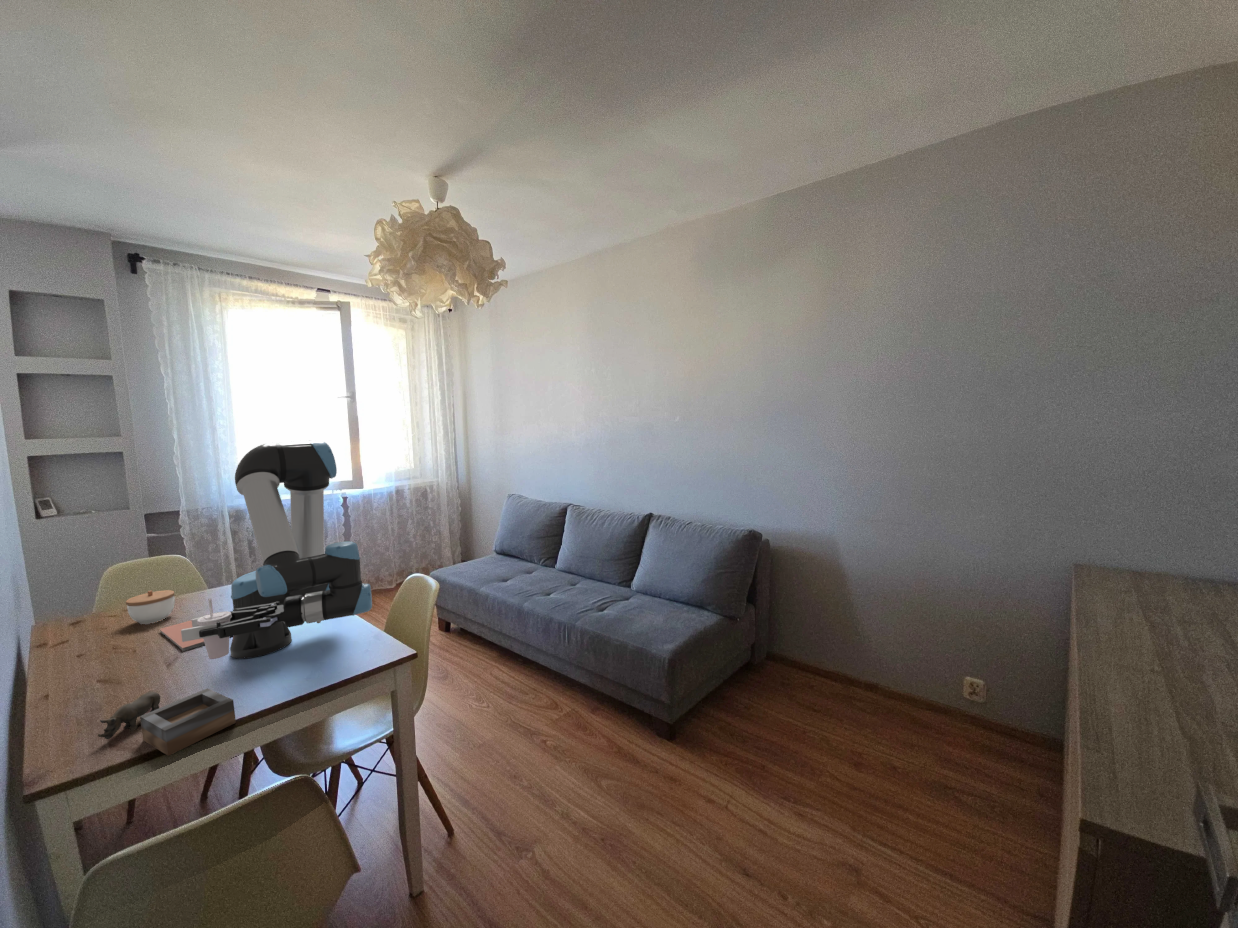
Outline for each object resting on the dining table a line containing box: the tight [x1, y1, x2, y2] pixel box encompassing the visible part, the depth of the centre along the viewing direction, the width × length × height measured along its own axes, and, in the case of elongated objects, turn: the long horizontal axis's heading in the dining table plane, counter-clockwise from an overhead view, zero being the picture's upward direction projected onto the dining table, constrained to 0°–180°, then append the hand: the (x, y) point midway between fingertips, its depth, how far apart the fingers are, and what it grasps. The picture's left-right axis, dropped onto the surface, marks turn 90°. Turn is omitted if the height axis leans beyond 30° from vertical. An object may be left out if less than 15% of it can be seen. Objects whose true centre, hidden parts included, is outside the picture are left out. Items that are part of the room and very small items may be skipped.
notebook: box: [159, 619, 205, 652], centre depth 162 cm, size 27×17×2 cm, turn 55°
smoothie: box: [197, 598, 232, 660], centre depth 115 cm, size 6×6×14 cm
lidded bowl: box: [125, 589, 176, 625], centre depth 174 cm, size 13×13×11 cm
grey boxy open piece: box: [139, 687, 237, 757], centre depth 107 cm, size 12×12×6 cm
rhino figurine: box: [97, 690, 161, 740], centre depth 109 cm, size 4×14×6 cm, turn 179°
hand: (187, 629), depth 113 cm, fingers closed on smoothie, 6 cm apart
